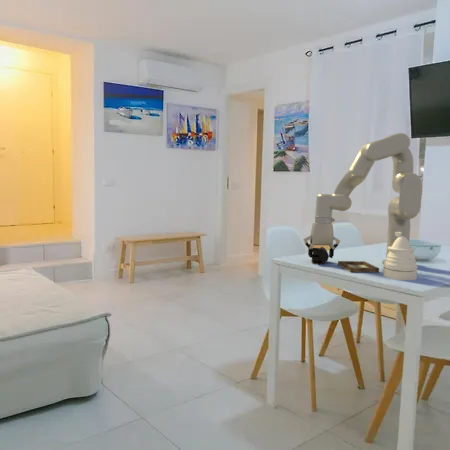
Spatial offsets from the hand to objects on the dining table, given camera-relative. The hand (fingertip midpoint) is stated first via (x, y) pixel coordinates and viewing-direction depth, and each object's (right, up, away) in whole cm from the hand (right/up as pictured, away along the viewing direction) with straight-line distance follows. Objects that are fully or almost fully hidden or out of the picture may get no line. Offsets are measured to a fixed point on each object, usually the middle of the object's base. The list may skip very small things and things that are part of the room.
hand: (320, 257), depth 207 cm
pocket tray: (+14, -4, -12) cm, 19 cm away
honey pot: (+27, -6, -26) cm, 38 cm away
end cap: (0, -3, 0) cm, 3 cm away
